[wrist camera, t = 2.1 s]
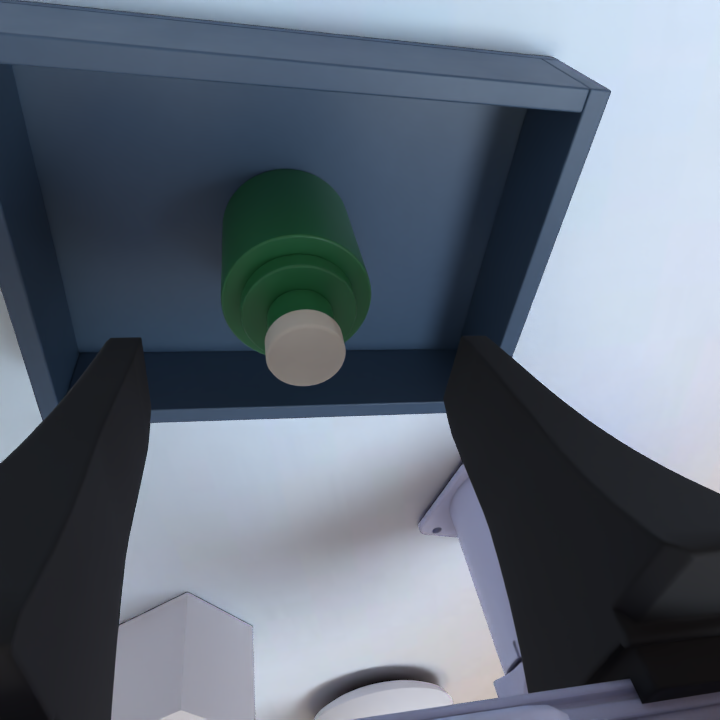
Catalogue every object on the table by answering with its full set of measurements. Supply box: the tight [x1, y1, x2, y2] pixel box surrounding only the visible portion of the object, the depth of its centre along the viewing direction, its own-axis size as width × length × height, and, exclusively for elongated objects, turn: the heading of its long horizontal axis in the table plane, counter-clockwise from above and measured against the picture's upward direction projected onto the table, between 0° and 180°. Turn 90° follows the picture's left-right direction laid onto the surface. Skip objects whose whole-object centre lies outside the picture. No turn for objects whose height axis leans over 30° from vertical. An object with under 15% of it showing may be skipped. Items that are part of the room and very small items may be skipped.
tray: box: [0, 0, 611, 423], centre depth 18 cm, size 15×11×3 cm
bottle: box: [221, 169, 371, 386], centre depth 16 cm, size 4×4×6 cm
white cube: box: [111, 592, 255, 720], centre depth 32 cm, size 6×6×6 cm
